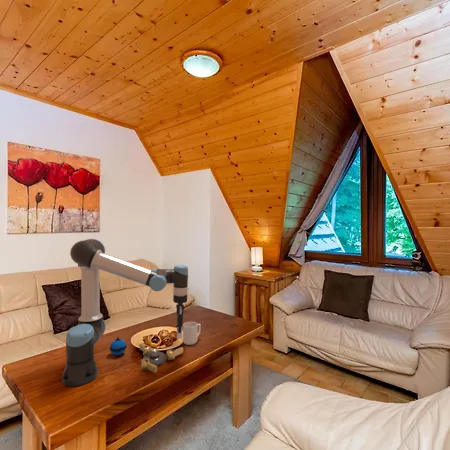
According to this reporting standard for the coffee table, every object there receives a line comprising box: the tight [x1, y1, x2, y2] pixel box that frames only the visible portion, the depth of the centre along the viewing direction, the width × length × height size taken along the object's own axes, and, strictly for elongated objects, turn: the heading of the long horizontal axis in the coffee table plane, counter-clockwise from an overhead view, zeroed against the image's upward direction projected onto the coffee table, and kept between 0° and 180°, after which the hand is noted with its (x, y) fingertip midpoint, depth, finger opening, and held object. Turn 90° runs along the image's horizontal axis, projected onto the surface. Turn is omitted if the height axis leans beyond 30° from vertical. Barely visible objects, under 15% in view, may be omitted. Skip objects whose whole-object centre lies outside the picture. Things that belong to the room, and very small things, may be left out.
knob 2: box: [140, 358, 158, 373], centre depth 140 cm, size 10×4×4 cm, turn 53°
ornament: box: [109, 336, 127, 356], centre depth 157 cm, size 9×9×10 cm
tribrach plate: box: [142, 348, 167, 367], centre depth 150 cm, size 12×12×6 cm
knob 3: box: [166, 346, 184, 361], centre depth 154 cm, size 10×4×4 cm, turn 138°
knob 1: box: [138, 343, 152, 357], centre depth 158 cm, size 10×4×4 cm, turn 42°
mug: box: [182, 321, 202, 346], centre depth 174 cm, size 12×9×11 cm
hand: (179, 337), depth 152 cm, fingers closed
